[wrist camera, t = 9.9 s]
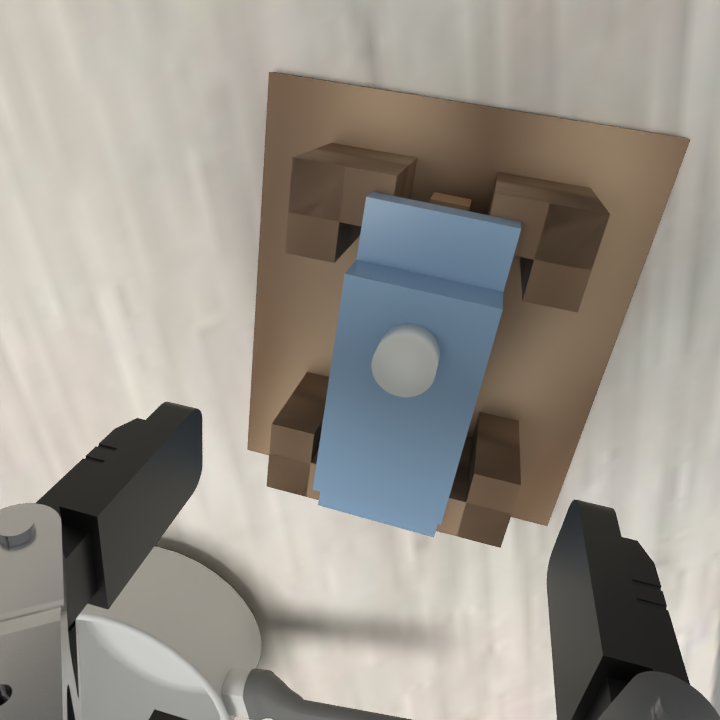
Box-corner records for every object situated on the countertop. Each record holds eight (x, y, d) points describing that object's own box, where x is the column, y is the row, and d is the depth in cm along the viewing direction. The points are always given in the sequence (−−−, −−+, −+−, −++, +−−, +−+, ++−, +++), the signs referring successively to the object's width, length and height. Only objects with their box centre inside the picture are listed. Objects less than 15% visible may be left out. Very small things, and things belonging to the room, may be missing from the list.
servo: (350, 431, 24) (296, 553, 18) (396, 171, 19) (344, 215, 13) (447, 456, 24) (425, 590, 17) (518, 195, 19) (523, 253, 13)
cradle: (251, 443, 26) (206, 508, 22) (274, 72, 19) (214, 71, 15) (546, 517, 24) (553, 602, 21) (685, 137, 18) (737, 155, 14)
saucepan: (443, 708, 31) (431, 826, 26) (118, 670, 36) (57, 762, 31) (422, 537, 27) (403, 642, 22) (54, 521, 32) (-30, 602, 27)
